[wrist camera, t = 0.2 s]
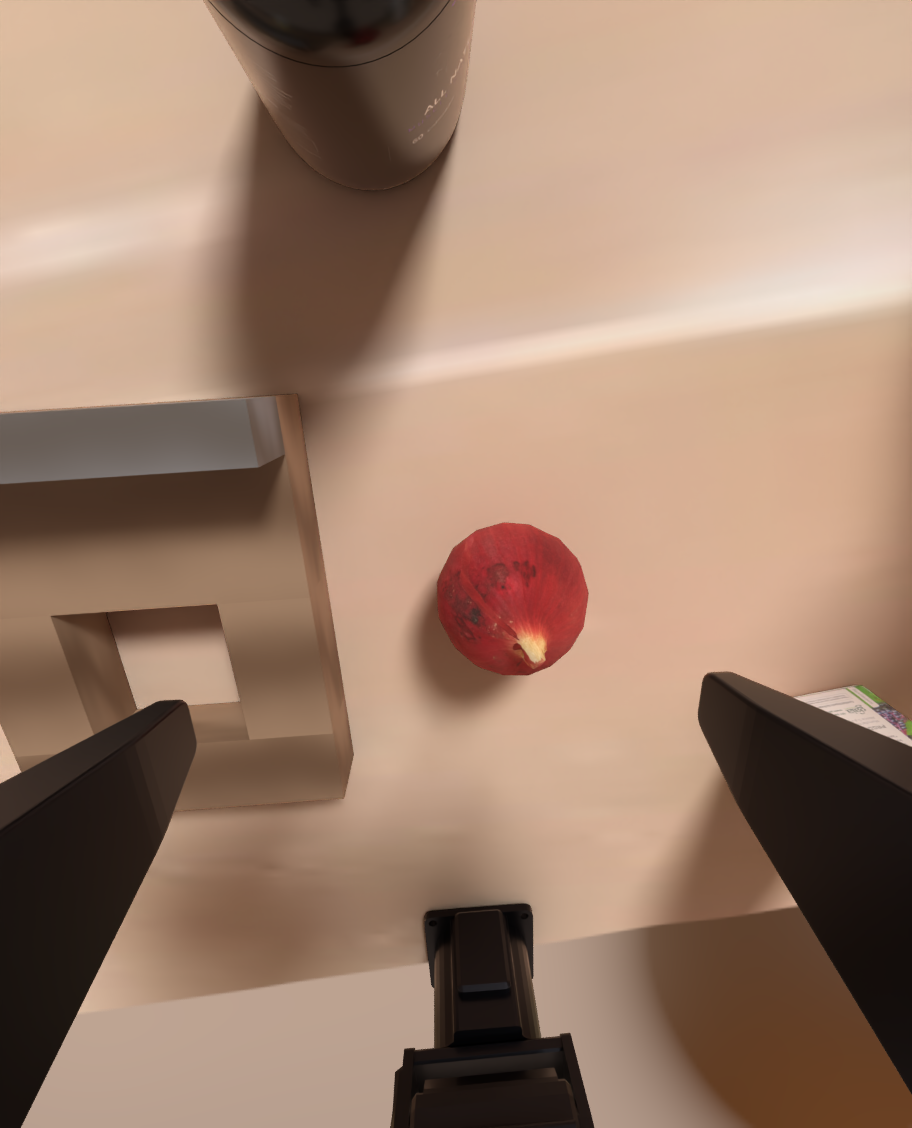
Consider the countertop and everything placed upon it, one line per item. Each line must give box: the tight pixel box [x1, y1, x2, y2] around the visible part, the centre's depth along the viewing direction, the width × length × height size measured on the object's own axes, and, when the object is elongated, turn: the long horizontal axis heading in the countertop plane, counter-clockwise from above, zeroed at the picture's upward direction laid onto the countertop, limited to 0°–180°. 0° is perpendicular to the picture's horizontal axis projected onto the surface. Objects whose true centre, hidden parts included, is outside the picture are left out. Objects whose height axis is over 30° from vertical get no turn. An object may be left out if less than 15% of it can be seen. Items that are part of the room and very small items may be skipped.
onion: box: [437, 523, 589, 675], centre depth 20 cm, size 6×6×8 cm
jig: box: [0, 394, 354, 811], centre depth 21 cm, size 18×14×6 cm
